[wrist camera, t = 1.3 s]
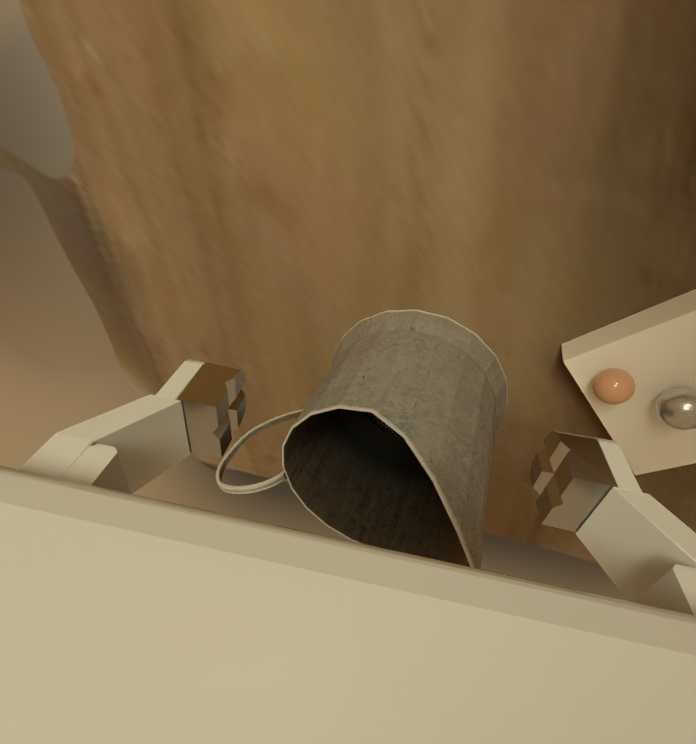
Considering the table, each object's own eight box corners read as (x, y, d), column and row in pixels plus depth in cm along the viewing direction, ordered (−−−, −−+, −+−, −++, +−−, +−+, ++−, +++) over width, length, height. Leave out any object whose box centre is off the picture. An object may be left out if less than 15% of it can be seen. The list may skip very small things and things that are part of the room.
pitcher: (508, 461, 56) (495, 661, 37) (303, 442, 69) (216, 584, 50) (506, 304, 45) (485, 479, 26) (259, 316, 57) (122, 439, 38)
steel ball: (693, 372, 38) (707, 398, 35) (710, 403, 39) (724, 431, 36) (644, 387, 41) (653, 413, 38) (661, 416, 42) (671, 443, 39)
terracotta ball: (622, 355, 40) (628, 376, 37) (638, 382, 41) (645, 404, 38) (583, 369, 42) (587, 389, 39) (599, 394, 43) (604, 416, 40)
